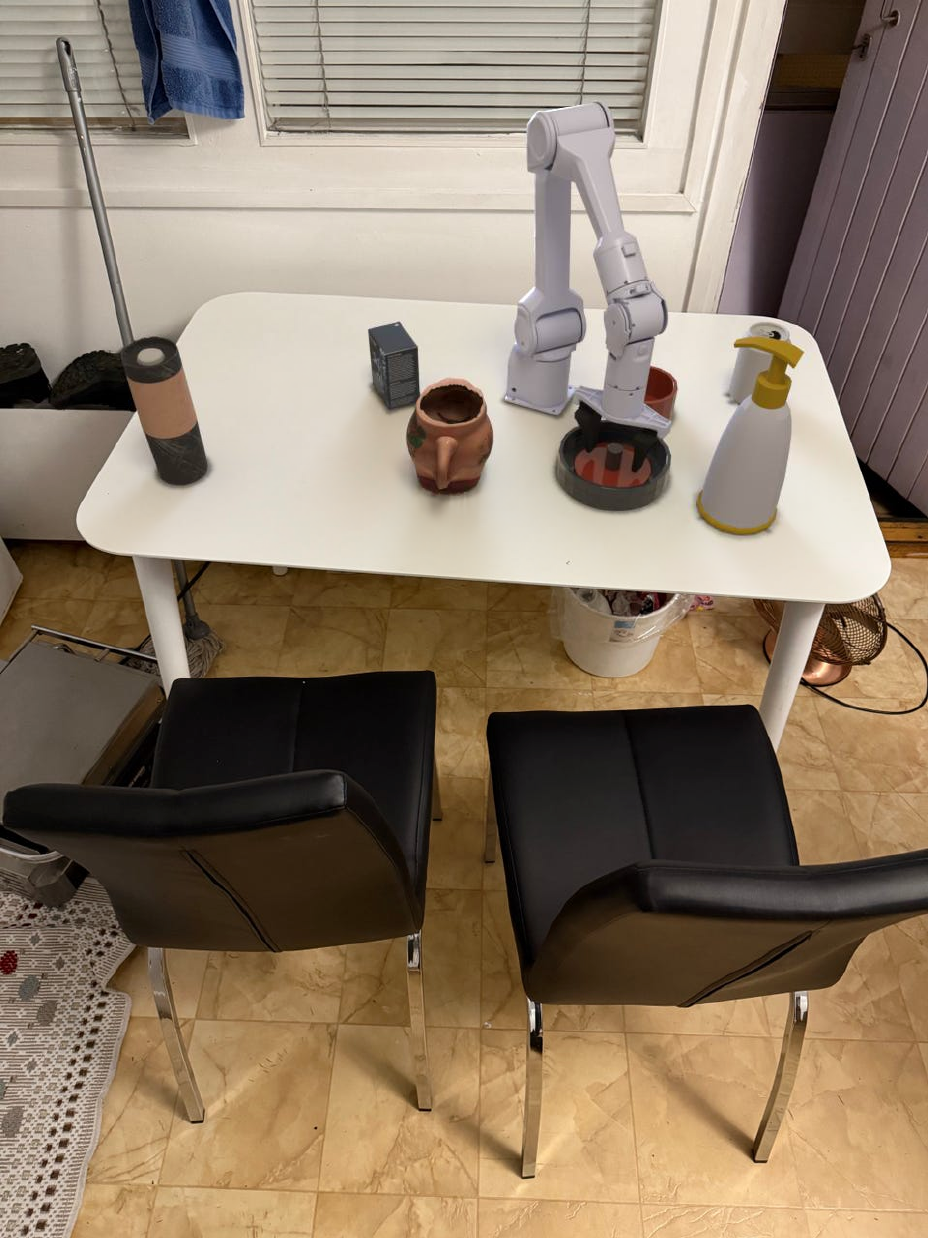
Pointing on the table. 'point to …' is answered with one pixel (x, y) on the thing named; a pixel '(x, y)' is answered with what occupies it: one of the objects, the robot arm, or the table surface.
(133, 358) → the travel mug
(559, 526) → the table surface
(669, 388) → the reddish brown bowl
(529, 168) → the robot arm
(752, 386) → the can
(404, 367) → the box
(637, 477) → the lid
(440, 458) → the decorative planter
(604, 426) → the pan
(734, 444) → the soap bottle
